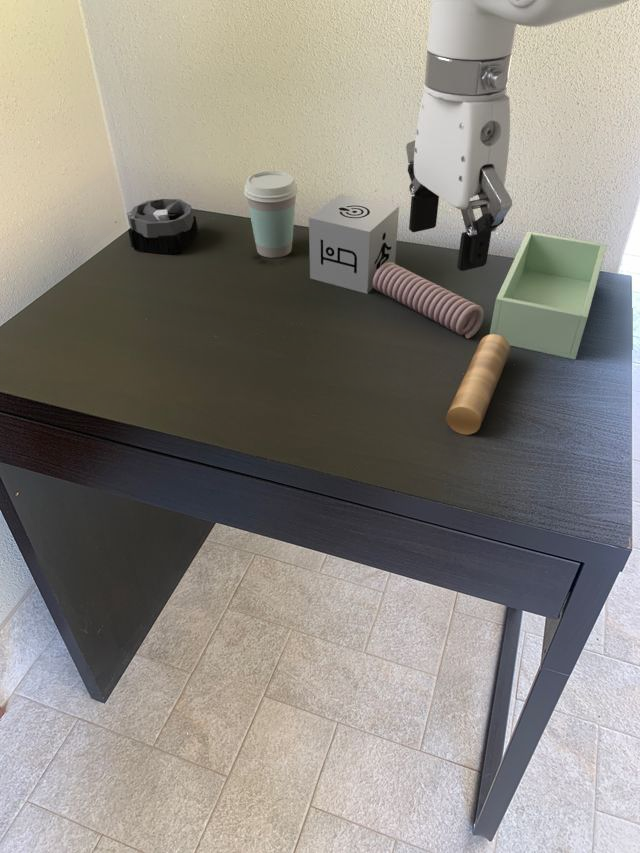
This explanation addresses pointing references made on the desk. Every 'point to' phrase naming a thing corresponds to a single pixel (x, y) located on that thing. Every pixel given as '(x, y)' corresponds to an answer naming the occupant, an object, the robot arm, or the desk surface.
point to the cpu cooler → (162, 226)
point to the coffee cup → (272, 211)
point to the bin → (548, 294)
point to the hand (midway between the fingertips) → (445, 247)
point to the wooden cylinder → (478, 385)
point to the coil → (428, 299)
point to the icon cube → (352, 241)
